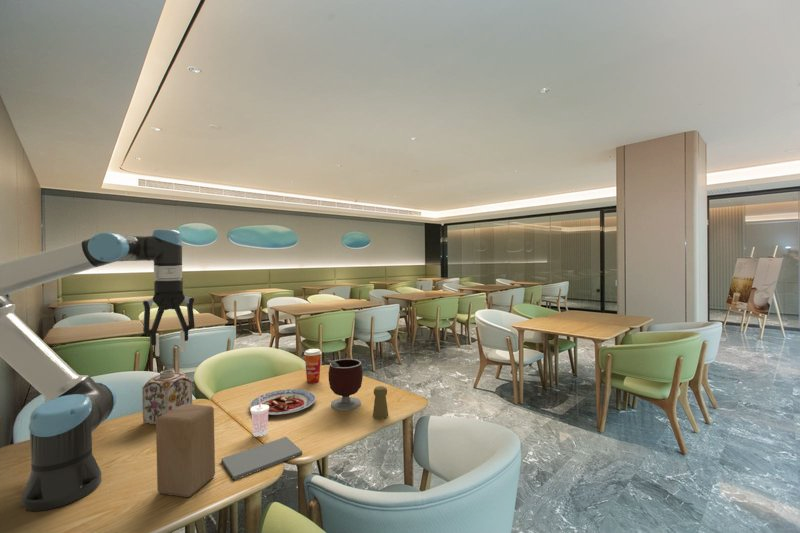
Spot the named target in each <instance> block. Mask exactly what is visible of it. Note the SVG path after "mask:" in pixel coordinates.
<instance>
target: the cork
mask: <svg viewBox="0 0 800 533" xmlns="http://www.w3.org/2000/svg"><path fill="white" fill-rule="evenodd" d="M387 394H388V389H387V387H386V386H384V385H377V386H375V387H374V388H373V395H374V405H373V411H372V417H373V418H374V419H376V418H377V419H376V420H383V419H382V418H384V419H386V418H385V417H387V416H388V417H389V411H388V402H387ZM388 417H387V418H388Z"/></svg>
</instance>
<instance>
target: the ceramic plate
mask: <svg viewBox="0 0 800 533" xmlns="http://www.w3.org/2000/svg"><path fill="white" fill-rule="evenodd" d="M316 400H317V396H316V395H315V394H314V393H313V392H311V391H308V390H305V389H304V390H303V389H297V388H296V389H295V388H294V389H292V388H291V389H283V390H274V391H271V392H267V393H264V394H262V395H261V394H260V401H261V404H266V405H269V410H268V416H270V415H271V416H279V415H286V414H292V413H296V412H299V411H302V410H305V409H307V408H308V407H311V406H312V405H313V404H314V403H315V402H316ZM256 405H259V396H257V397H256V398H253V400H252V401H251V402H250V404H249V409H251V408H252V407H253V406H256Z"/></svg>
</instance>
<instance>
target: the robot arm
mask: <svg viewBox="0 0 800 533" xmlns="http://www.w3.org/2000/svg"><path fill="white" fill-rule="evenodd" d="M182 241H183V240H182V234H181V232H180V231H179V230H177V229H176V230H175V229H154V230H153V232H152V235H147V236H143V235H142V236H141V235H140V236H139V235H127V234H126V235H125V234H119V233H116V232H109V231H108V232H101V233H97V234H94V236H92V237H91V238H88V239H85V240H84V239H83V240H80V241H77V242H73V243H71V244H66V245H63V246H59V247H55V248H52V249H49V250H48V249H47V250H45V251H41V252H37V253H34V254H30V255H27V256H23V257H19V258H15V259H12V260H9V261H4V262H1V263H0V358H1V359H2V360H4V362H6V363H7V364H8V366H10V367H11V368H12V369H14V370H15V372H16V373H18V375H20V376H21V377H22V378H23V379H24V380H25V381H27V382H28V383H29V384H30V385H31V386H32V387H33V388H34V389H35V390H37V392H39V394H41V395H42V396H43V398H44V402H43V403H41V404H39V405H38V406H36V407H35V408H34V409H33V410H32V411H31V412H32V413H31V414H30V416H29V417H30V418H29V425H28V429H29V439H30V440H29V441H30V442H29V443H30V465H31V467H30V468H31V471H30V474H29V476H28V480H27V481H26V485H25V486H24V489H23V490H24V491H23V493H22V496H21V500H22V501H21V502H22V503H21V504H22V508H23V509H24V510H26V511H30V512H40V511H47V510H52V509H56V508H59V507H62V506H63V507H64V506H65V505H68V504H71V503H74V502H76V501H78V500H80V499H82V498H84V497H86V496H87V495H89V494H90V493H92V492H93V491H94V490H95V489H97V488H98V487H99V485H100V484H101V483H102V471H101V468H100V467H99V463H97V460H96V459H95V456H94V455H93V434H92V433H93V432H94V431H95V430H96V429H97V428H98V427H99V426H100V425H101V424H102V423H103V422H104V421H106V420H107V419H108V417H109V416H110V415H111V414H112V412H113V410H114V409H115V406H116V402H117V396H116V395H117V394H116V392H115V391H114V389H113V387H111V386H110V385H109V384H106V383H104V382H96V381H95V380H94V379H93V378H92V377H91V376H89V375H88V374H87V375H86V374H84V375H83V374H78V373H77V372H76V371H75V369H73V368H72V367H71V366H70V365H69V364H68V363H66V361H64V359H63V358H61V357H60V356H59V355H58V354H57V353H56V352H55V351H54V350H53V349H52V348H51V347H50V346H49V345H48V344H47V343H46V342H44V341H43V339H42V338H41V337H40V336H39V335H37V334H36V333H35V332H34V331H33V330H32V329H31V328H30V327H29V326H28V325H27V324H26V323H25V322H24V321H23V320H22V319H20V317H19V316H17V314H15V310H16V306H17V305H16V304H15V303H14V302H13V301H12V300H11V294H13V293H16V292H19V291H23V290H25V289H26V290H27V289H28V288H33V287H36V286H39V285H42V284H46V283H48V282H53V281H56V280H59V279H62V278H65V277H68V276H72V275H75V274H77V273H78V274H79V273H81V272H85V271H88V270H91V269H95V268H98V267H101V266H102V267H103V266H105V265H108V264H109V265H110V264H112V263H116V262H133V261H134V262H137V261H138V262H140V261H141V262H143V261H145V262H146V261H148V262H150V261H153V279H155V280H154V282H153V285H154V286H153V287H154V288H153V290H154V292H153V293H154V294H153V297H152V298H150V299H147V300H145V299H144V300H142V305H143V308H144V310H143V327H142V332H143V333H144V334H147V335H150V344H151V346H154V351H155V353H154V355H155V356H156V357H160V334H159V333H158V332H157V331H158V329H159V326H160V323H161V320H162V317H163V314H164V312H165V311H167V310H174V311H175V314H176V315H177V318H178V321H179V323H180V327H181V328H182V330H180V331H179V343H180V348H179V349H180V352H181V353H186V350H185V349H186V347H185V346H186V345H185V344H186V342H188V341H189V331H190V330H192V329H194V328H195V325H196V324H195V318H194V317H195V314H194V306H193V304H194V301H195V299H194V297H191V296H190V297H188V296H185V295H184V288H183V286H184V285H183V280H182V278H183V242H182ZM183 302H184V303H185V304H186V312H187V322H188V325H187V322H186V319H185V317H184V314H183V312H182V309H181V307H180V306H181V304H182V303H183ZM153 303H154V304H156V306H157V307H158V308H157V312H156V315H155V318H154V321H153V323H152V327H151V328H150V321H151V320H150V319H151V308H152V306H153Z"/></svg>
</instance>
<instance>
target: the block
mask: <svg viewBox="0 0 800 533" xmlns="http://www.w3.org/2000/svg"><path fill="white" fill-rule="evenodd" d="M155 437H156V438H155V440H156V441H155V442H156V443H155V445H156V477H157V478H156V480H157V481H156V482H157V483H156V485H157V488H156V489H157V492H158V493H159V494H162V495H170V496H178V497H181V498H182V497H183V498H188V497H191V496H193V495H194V494H195V493H196V492H198V491H199V490H200V489H201V488H203V486H205V485H206V484H207V483H208V482H210V481H211V480H212V479H213V478H214V477H215V474H216V458H215V457H216V455H215V454H216V452H215V451H216V450H215V448H216V445H215V408H214V406H212V405H201V404H193V403H192V404H183V405H181V406H179V407H177V408H175V409H173V410H171V411H169V412H167V413H165V414H163V415H161V416H160V417H158V418H157V419H156V425H155Z"/></svg>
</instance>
